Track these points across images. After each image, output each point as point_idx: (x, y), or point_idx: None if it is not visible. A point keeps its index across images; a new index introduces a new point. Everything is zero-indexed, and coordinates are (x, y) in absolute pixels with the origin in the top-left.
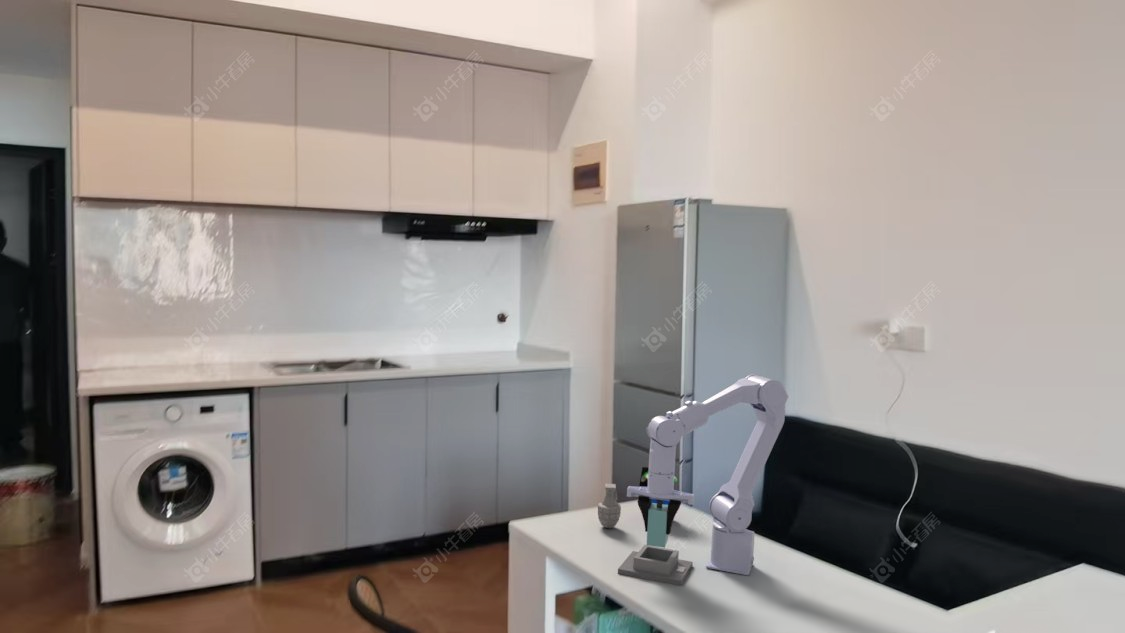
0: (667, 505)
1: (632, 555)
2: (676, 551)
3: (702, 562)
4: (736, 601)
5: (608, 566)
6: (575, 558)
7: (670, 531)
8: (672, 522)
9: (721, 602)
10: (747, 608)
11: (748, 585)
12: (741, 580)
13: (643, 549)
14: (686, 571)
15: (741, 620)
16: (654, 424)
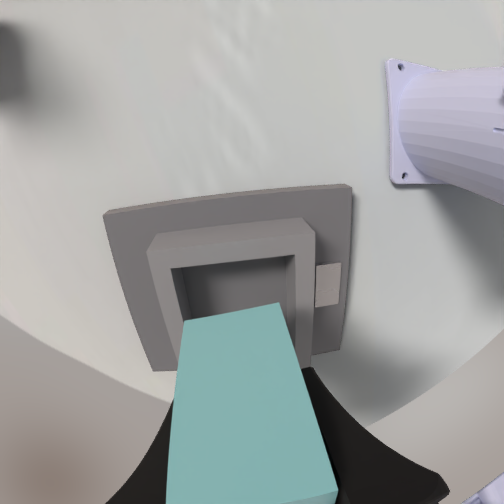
0: (317, 499)
1: (124, 259)
2: (307, 247)
3: (368, 126)
4: (442, 332)
5: (108, 335)
6: (27, 326)
7: (314, 371)
8: (336, 402)
9: (416, 354)
10: (452, 343)
11: (475, 240)
12: (466, 218)
13: (171, 304)
14: (345, 286)
15: (433, 381)
16: None
